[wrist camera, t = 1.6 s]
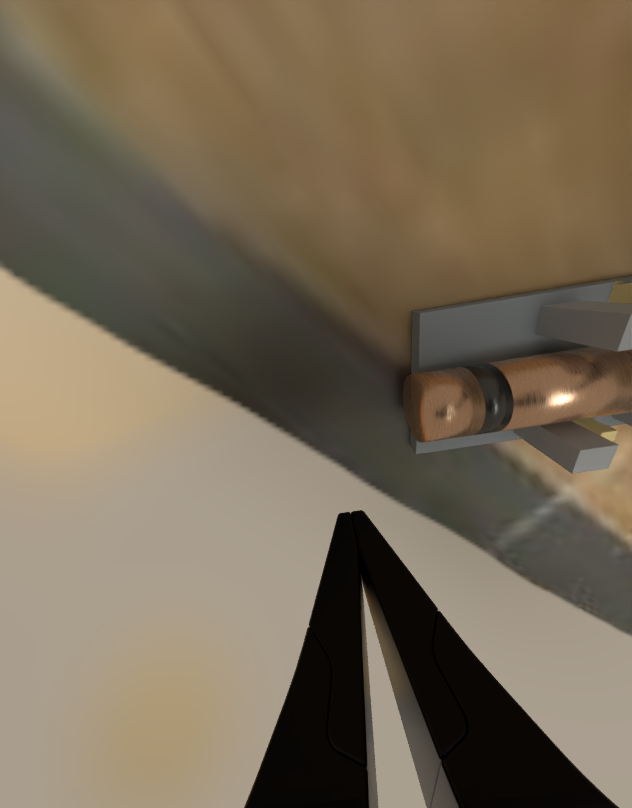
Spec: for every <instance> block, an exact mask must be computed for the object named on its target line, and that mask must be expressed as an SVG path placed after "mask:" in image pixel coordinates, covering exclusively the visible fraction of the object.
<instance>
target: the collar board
mask: <svg viewBox="0 0 632 808" xmlns="http://www.w3.org/2000/svg"><path fill="white" fill-rule="evenodd" d="M592 346H593V347H598V348H602V349H607V350H612V351H617V352H618V351H625V350H631V349H632V276H626V277H620V278H614V279H608V280H602V281H596V282H589V283H583V284H577V285H571V286H565V287H559V288H552V289H546V290H540V291H534V292H528V293H521V294H515V295H509V296H503V297H497V298H491V299H484V300H478V301H472V302H466V303H460V304H454V305H447V306H441V307H435V308H429V309H423V310H417V311H412V350H411V374H418V373H424V372H431V371H437V370H444V369H450V368H457V367H463V366H470V365H476V364H483V363H489V362H495V361H502V360H508V359H515V358H521V357H528V356H534V355H541V354H547V353H554V352H560V351H566V350H573V349H579V348H586V347H592ZM620 424H628V425H630V426H632V412H628V413H621V414H615V415H608V416H601V417H594V418H587V419H581V420H574V421H567V422H560V423H553V424H547V425H540V426H533V427H526V428H519V429H513V430H506V431H499V432H492V433H485V434H478V435H472V436H465V437H458V438H451V439H444V440H438V441H431V442H424V443H421V442H419V441H417V440H416V439H415V438H414V436H413V435H412V433H411V431H410V445H411V447H412V448H413V450H414V451H415V453H416V454H421V453H428V452H435V451H441V450H448V449H455V448H462V447H469V446H476V445H483V444H490V443H496V442H503V441H510V440H517V439H524V440H525V441H526V442H528V443H529V444H531V445H532V446H534V447H535V448H536V449H538V450H539V451H541V452H542V453H544V454H545V455H546V456H548V457H549V458H551V459H552V460H554V461H555V462H556V463H558V464H559V465H561V466H562V467H563V468H565V469H566V470H568V471H569V472H571V473H579V472H586V471H593V470H600V469H607V468H609V465H610V463H611V461H612V459H613V456H614V454H615V452H616V450H617V447H618V444H616V443H614V442H613V441H614V438H615V436H616V434H617V431H618V430H616V429H613V428H611V427H609V426H613V425H620Z"/></svg>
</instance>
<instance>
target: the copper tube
mask: <svg viewBox="0 0 632 808" xmlns="http://www.w3.org/2000/svg"><path fill="white" fill-rule="evenodd" d="M403 406H404V412H405V416H406V420H407V423H408V426H409V429H410V431H411V433H412V435H413V436H414V438H415V439H416V440H417V441H419V442H421V443H424V442H431V441H438V440H444V439H451V438H458V437H465V436H472V435H478V434H485V433H492V432H499V431H506V430H513V429H519V428H526V427H533V426H540V425H547V424H553V423H560V422H567V421H574V420H581V419H587V418H594V417H601V416H608V415H615V414H621V413H628V412H632V349H631V350H625V351H618V352H617V351H612V350H607V349H602V348H598V347H593V346H592V347H586V348H579V349H573V350H566V351H560V352H554V353H547V354H541V355H534V356H528V357H521V358H515V359H508V360H502V361H495V362H489V363H483V364H476V365H470V366H463V367H457V368H450V369H444V370H437V371H431V372H424V373H418V374H411V375H408V376H407V377H406V379H405V382H404V386H403Z"/></svg>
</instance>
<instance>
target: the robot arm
mask: <svg viewBox="0 0 632 808" xmlns="http://www.w3.org/2000/svg"><path fill="white" fill-rule="evenodd" d="M361 578H362V579H361ZM362 583H363V587H364V590H365V594H366V598H367V601H368V605H369V608H370V612H371V615H372V618H373V622H374V626H375V629H376V633H377V636H378V639H379V643H380V646H381V650H382V654H383V657H384V660H385V664H386V667H387V671H388V674H389V677H390V681H391V685H392V688H393V692H394V695H395V699H396V702H397V705H398V709H399V712H400V716H401V720H402V723H403V726H404V730H405V733H406V737H407V740H408V744H409V747H410V751H411V754H412V757H413V761H414V765H415V768H416V771H417V775H418V779H419V782H420V786H421V789H422V792H423V796H424V799H425V803H426V806H427V808H619V807H618V806H616V805H615V804H614V803H613V802H612V801H611V800H610V799H608V798H607V797H606V796H605V795H604V794H603V793H602V792H601V791H600V790H599V789H598V788H596V786H595V785H594V784H593V783H592V782H590V781H589V780H588V779H587V778H586V777H585V776H584V775H583V774H582V773H581V772H580V771H579V770H578V769H577V768H576V766H574V764H573V763H572V762H571V761H570V760H569V759H568V758H567V757H566V756H565V755H564V754H563V753H562V752H561V751H560V750H559V748H558V747H557V746H556V745H555V744H554V743H553V742H552V741H551V740H550V739H549V737H548V736H547V735H546V734H545V733H544V732H543V731H542V730H541V729H540V728H539V726H538V725H537V724H536V723H535V722H534V721H533V720H532V719H531V717H530V716H529V715H528V714H527V713H526V712H525V711H524V710H523V709H522V707H521V706H520V705H519V704H518V703H517V702H516V701H515V700H514V699H513V698H512V696H511V695H510V694H509V693H508V692H507V691H506V690H505V689H504V688H503V686H502V685H501V684H500V683H499V682H498V681H497V680H496V679H495V678H494V676H493V675H492V674H491V673H490V672H489V671H488V670H487V668H486V667H485V666H484V665H483V664H482V663H481V662H480V661H479V660H478V658H477V657H476V656H475V655H474V653H473V652H472V651H471V650H470V649H469V648H468V646H467V645H466V644H465V643H464V641H463V640H462V639H461V638H460V636H459V635H458V634H457V633H456V632H455V630H454V629H453V628H452V626H451V625H450V624H449V622H448V621H447V620H446V618H445V617H444V616H443V615H442V613H441V612H440V611H438V608H437V607H436V606H435V604H434V603H433V602H432V600H431V599H430V598H429V596H428V595H427V594H426V593H425V591H424V590H423V588H422V587H421V586H420V585H419V583H418V582H417V581H416V579H415V578H414V577H413V575H412V574H411V573H410V571H409V570H408V569H407V567H406V566H405V565H404V564H403V562H402V561H401V560H400V558H399V557H398V556H397V554H396V553H395V552H394V550H393V549H392V548H391V546H390V545H389V544H388V543H387V541H386V540H385V539H384V538H383V536H382V535H381V533H380V532H379V531H378V529H377V528H376V527H375V526H374V524H373V523H372V522H371V520H370V519H369V518H368V516H367V515H366V514H365V512H364V511H362V510H360V511H353V512H351V513H350V512H345V513H340V514H339V515H338V517H337V521H336V525H335V528H334V532H333V536H332V540H331V543H330V547H329V551H328V554H327V558H326V562H325V566H324V569H323V573H322V577H321V580H320V584H319V588H318V592H317V595H316V599H315V603H314V607H313V610H312V614H311V618H310V622H309V627H308V629H307V632H306V636H305V639H304V643H303V647H302V650H301V653H300V657H299V660H298V663H297V667H296V670H295V673H294V676H293V679H292V682H291V685H290V688H289V691H288V693H287V696H286V699H285V702H284V705H283V707H282V710H281V713H280V715H279V718H278V721H277V724H276V726H275V729H274V732H273V734H272V737H271V739H270V742H269V745H268V747H267V750H266V753H265V756H264V758H263V761H262V763H261V767H260V769H259V772H258V774H257V777H256V779H255V782H254V785H253V787H252V790H251V792H250V795H249V797H248V800H247V802H246V804H245V807H244V808H378V796H377V783H376V768H375V755H374V740H373V727H372V714H371V713H372V712H371V698H370V684H369V670H368V656H367V642H366V629H365V615H364V600H363V588H362Z"/></svg>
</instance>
